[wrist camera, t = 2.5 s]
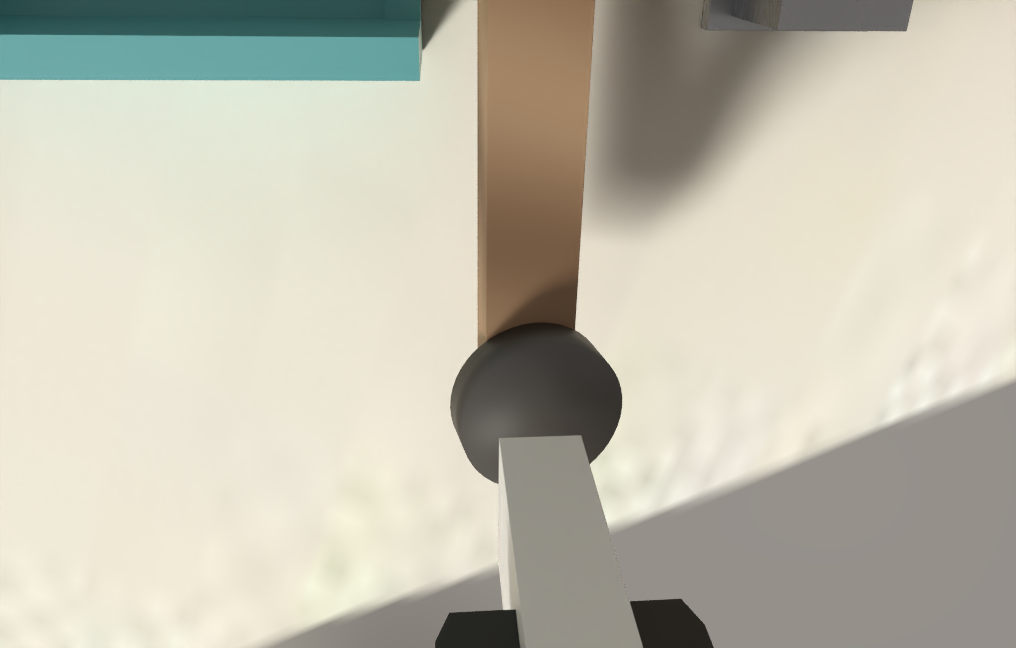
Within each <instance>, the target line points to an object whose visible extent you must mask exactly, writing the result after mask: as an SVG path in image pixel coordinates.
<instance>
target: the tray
mask: <svg viewBox="0 0 1016 648" xmlns="http://www.w3.org/2000/svg"><path fill="white" fill-rule="evenodd" d="M421 61H422V25H421V0H0V80H362V81H420V73H421Z"/></svg>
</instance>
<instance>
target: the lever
mask: <svg viewBox="0 0 1016 648" xmlns="http://www.w3.org/2000/svg"><path fill="white" fill-rule="evenodd" d="M594 9H595V0H478V349H477V350H476V351H475V352H474V353H473V354H472V355H471V356H470V357H469V358H468V360H467V361H466V362H465V364H464V365H463V367H462V368H461V370H460V372H459V374H458V376H457V378H456V380H455V383H454V386H453V390H452V395H451V405H450V408H451V417H452V421H453V424H454V427H455V429H456V431H457V434H458V436H459V439H460V441H461V443H462V446H463V448H464V450H465V453H466V455H467V457H468V459H469V461H470V462H471V464H472V465H473V466H474V467H475V469H476V470H477V471H478V472H479V473H481V474H482V475H483V476H484V477H486V478H487V479H489V480H491V481H493V482H495V483H497V484H499V438H515V437H545V436H574V435H581V437H582V440H583V444H584V447H585V451H586V454H587V457H588V461H589V464H590V463H591V462H592V461H593V460H595V459H596V458H597V457H598V455H599V454H600V453H601V452H602V451H603V450H604V448H605V447H606V446H607V444H608V443H609V441H610V440H611V438H612V436H613V435H614V432H615V430H616V428H617V426H618V422H619V419H620V415H621V409H622V393H621V387H620V384H619V380H618V378H617V376H616V374H615V372H614V371H613V369H612V368H611V366H610V365H609V364H608V363H607V361H606V360H605V359H604V358H603V357H602V355H601V354H600V353H599V352H598V351H597V350H596V348H595V347H594V346H593V345H592V344H591V343H590V342H589V340H588V339H587V338H586V337H584V336H583V335H582V334H580V333H579V332H577V331H575V319H576V302H577V286H578V270H579V254H580V237H581V221H582V205H583V188H584V172H585V156H586V139H587V123H588V107H589V91H590V74H591V58H592V42H593V25H594Z"/></svg>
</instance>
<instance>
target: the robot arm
mask: <svg viewBox="0 0 1016 648" xmlns="http://www.w3.org/2000/svg"><path fill="white" fill-rule="evenodd" d="M498 562H499V572H500V581H501V592H502V602H503V610H495V611H475V612H457V613H449V615H448V617H447V619H446V621H445V623H444V625H443V627H442V629H441V631H440V633H439V635H438V637H437V639H436V642H435V648H714V647H713V645H712V642H711V640H710V637H709V635H708V632H707V630H706V627H705V625H704V624H703V622H702V621H701V620H700V619H699V618H698V617H697V616H696V615H695V614H694V613H693V611H692V610H691V609H690V608H689V607H688V606H687V605H686V604H685V603H684V602H683V601H682V599H669V600H649V601H631V602H630V601H629V598H628V595H627V591H626V587H625V584H624V581H623V577H622V574H621V571H620V567H619V564H618V560H617V557H616V554H615V550H614V546H613V543H612V540H611V536H610V533H609V529H608V526H607V522H606V519H605V516H604V512H603V509H602V505H601V502H600V499H599V495H598V492H597V488H596V485H595V481H594V478H593V475H592V471H591V468H590V464H589V461H588V457H587V454H586V451H585V447H584V444H583V440H582V437H581V435H574V436H545V437H515V438H499V490H498Z"/></svg>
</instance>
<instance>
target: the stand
mask: <svg viewBox="0 0 1016 648" xmlns="http://www.w3.org/2000/svg"><path fill="white" fill-rule="evenodd" d="M912 4H913V0H704V6H703V15H702V23H701V28H703V29H706V30H767V31H906V30H907V26H908V22H909V17H910V13H911V9H912Z"/></svg>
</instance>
